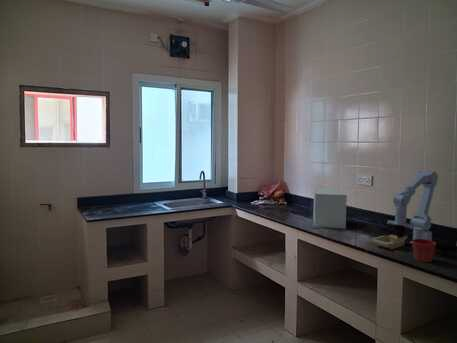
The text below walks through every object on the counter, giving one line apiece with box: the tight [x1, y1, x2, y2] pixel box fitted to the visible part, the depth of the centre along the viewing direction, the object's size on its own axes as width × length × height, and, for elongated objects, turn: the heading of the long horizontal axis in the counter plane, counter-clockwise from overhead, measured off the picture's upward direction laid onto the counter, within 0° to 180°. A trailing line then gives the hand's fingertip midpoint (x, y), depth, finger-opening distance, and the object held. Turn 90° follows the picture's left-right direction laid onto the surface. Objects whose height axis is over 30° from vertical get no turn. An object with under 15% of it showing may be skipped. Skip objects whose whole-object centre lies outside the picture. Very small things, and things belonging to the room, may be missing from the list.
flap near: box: [393, 235, 409, 243], centre depth 197 cm, size 4×12×1 cm
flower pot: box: [411, 238, 437, 263], centre depth 177 cm, size 11×11×10 cm
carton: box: [370, 234, 408, 250], centre depth 202 cm, size 11×22×3 cm, turn 125°
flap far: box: [369, 235, 386, 241], centre depth 208 cm, size 4×12×1 cm, turn 125°
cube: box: [312, 188, 348, 229], centre depth 254 cm, size 25×21×24 cm
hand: (399, 238), depth 197 cm, fingers closed
